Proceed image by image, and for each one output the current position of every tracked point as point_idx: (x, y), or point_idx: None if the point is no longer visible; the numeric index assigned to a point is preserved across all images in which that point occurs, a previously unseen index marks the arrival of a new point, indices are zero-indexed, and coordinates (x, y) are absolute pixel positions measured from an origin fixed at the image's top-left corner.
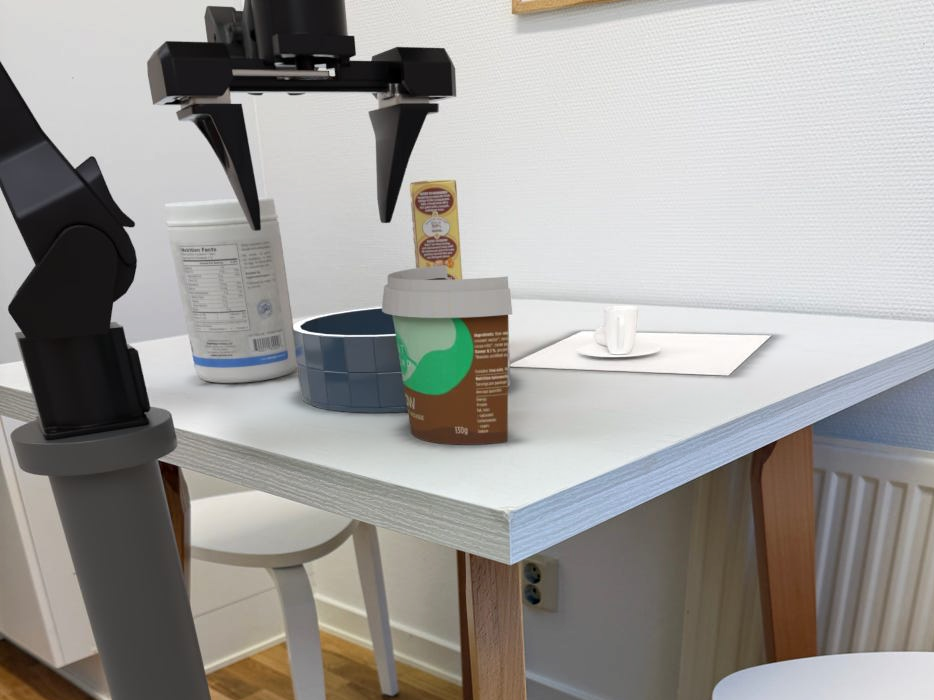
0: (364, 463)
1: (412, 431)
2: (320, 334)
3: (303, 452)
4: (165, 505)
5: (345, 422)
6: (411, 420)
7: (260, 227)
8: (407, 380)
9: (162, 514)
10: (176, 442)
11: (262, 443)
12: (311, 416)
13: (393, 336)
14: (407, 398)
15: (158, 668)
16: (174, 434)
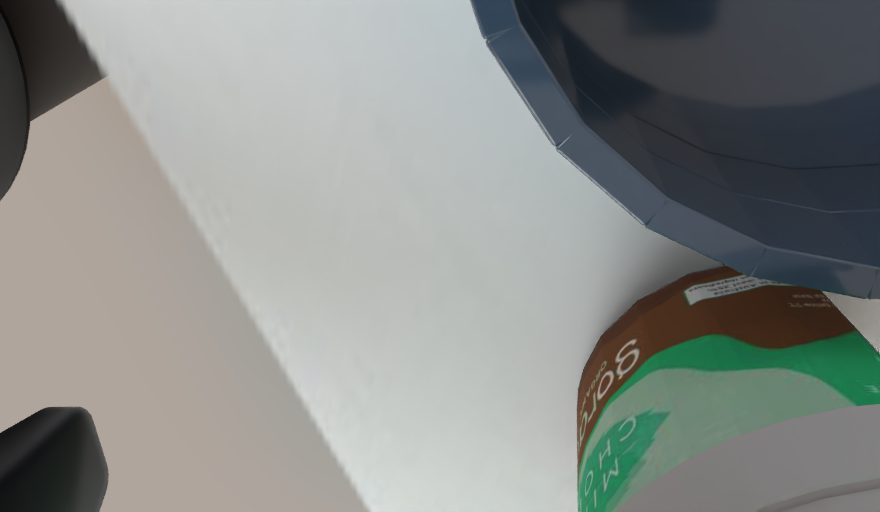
0: (413, 493)
1: (579, 389)
2: (496, 11)
3: (320, 367)
4: (48, 72)
5: (485, 169)
6: (578, 413)
7: (103, 494)
8: (578, 492)
9: (48, 94)
10: (25, 110)
11: (242, 246)
12: (418, 32)
13: (713, 257)
14: (580, 440)
15: None
16: (13, 123)
